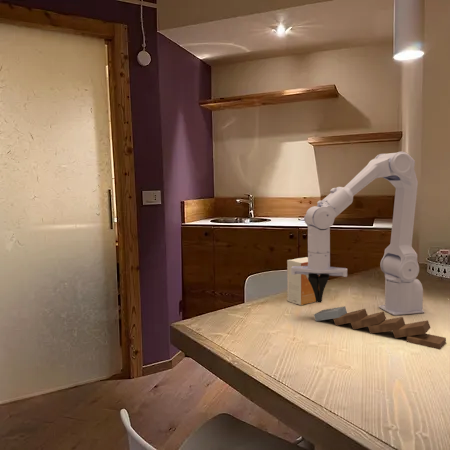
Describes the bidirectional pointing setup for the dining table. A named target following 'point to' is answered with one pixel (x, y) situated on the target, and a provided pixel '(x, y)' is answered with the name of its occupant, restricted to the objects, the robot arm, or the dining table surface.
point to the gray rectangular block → (330, 313)
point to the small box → (299, 284)
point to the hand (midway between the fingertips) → (319, 301)
